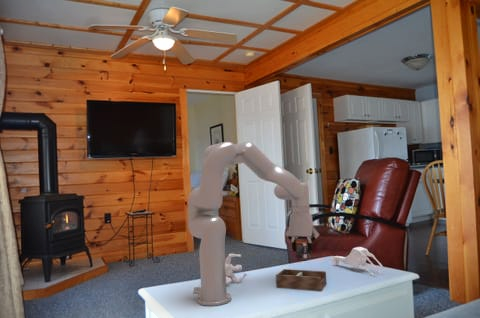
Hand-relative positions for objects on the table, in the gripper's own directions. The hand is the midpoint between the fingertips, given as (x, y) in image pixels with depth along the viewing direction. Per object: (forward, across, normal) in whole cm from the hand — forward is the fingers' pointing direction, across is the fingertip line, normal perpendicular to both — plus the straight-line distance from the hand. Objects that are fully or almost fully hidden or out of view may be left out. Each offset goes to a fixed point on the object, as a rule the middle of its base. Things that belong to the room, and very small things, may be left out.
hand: (302, 251), depth 162 cm
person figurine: (+13, -30, -18) cm, 37 cm away
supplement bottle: (+4, 0, 0) cm, 4 cm away
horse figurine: (+11, +20, +18) cm, 28 cm away
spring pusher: (+10, +2, -12) cm, 16 cm away
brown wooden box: (+12, +3, -12) cm, 17 cm away
